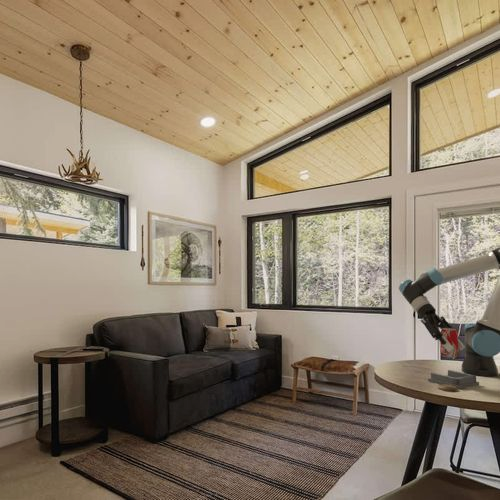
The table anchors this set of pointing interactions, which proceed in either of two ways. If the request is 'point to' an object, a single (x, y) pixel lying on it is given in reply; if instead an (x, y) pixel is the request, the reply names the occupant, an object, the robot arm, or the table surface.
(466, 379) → the dock
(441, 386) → the walnut coaster
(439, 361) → the table surface
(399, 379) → the table surface
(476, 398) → the table surface
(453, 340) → the soda can
